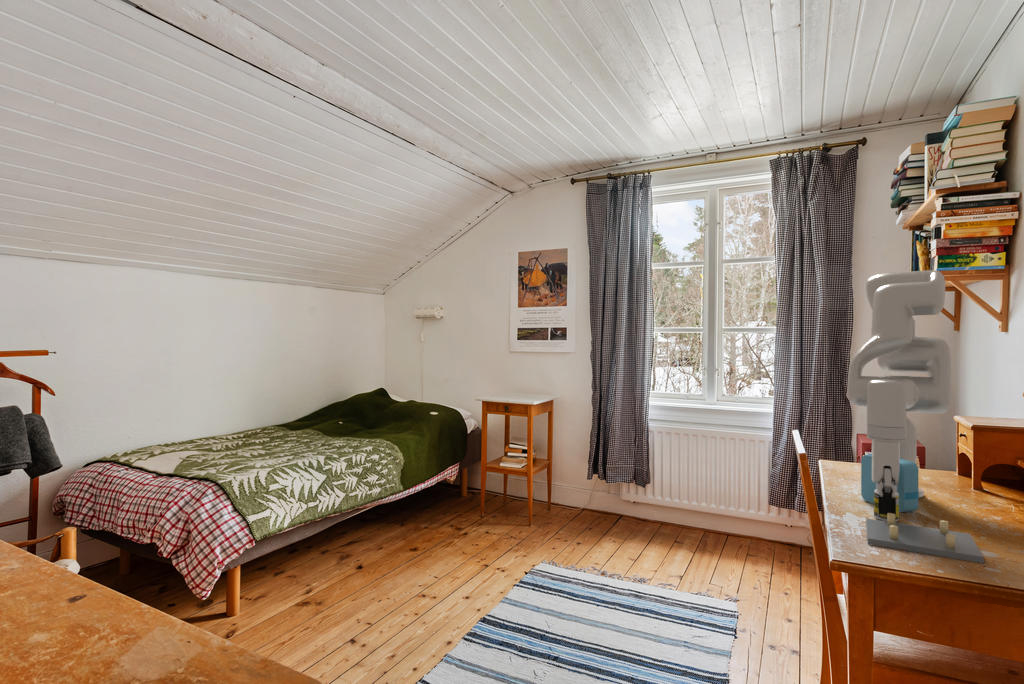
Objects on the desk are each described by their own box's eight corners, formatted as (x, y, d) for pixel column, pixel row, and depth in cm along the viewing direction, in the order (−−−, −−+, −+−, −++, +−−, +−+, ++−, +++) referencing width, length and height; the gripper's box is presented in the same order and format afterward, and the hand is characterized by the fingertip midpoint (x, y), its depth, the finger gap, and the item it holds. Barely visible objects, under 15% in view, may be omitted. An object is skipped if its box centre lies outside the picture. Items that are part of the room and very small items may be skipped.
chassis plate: (866, 523, 121) (866, 507, 121) (969, 539, 112) (969, 521, 112) (867, 543, 110) (867, 525, 110) (983, 563, 100) (983, 543, 100)
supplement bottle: (869, 517, 126) (869, 481, 126) (882, 514, 128) (882, 479, 128) (890, 523, 122) (890, 486, 121) (903, 520, 123) (903, 484, 123)
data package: (919, 512, 129) (919, 462, 129) (903, 514, 128) (903, 464, 128) (875, 498, 141) (875, 452, 141) (860, 499, 140) (860, 453, 140)
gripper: (866, 426, 134) (866, 498, 134) (867, 437, 119) (867, 518, 119) (903, 429, 130) (903, 503, 130) (909, 440, 115) (909, 524, 115)
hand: (886, 509), depth 125 cm, fingers open, 6 cm apart
